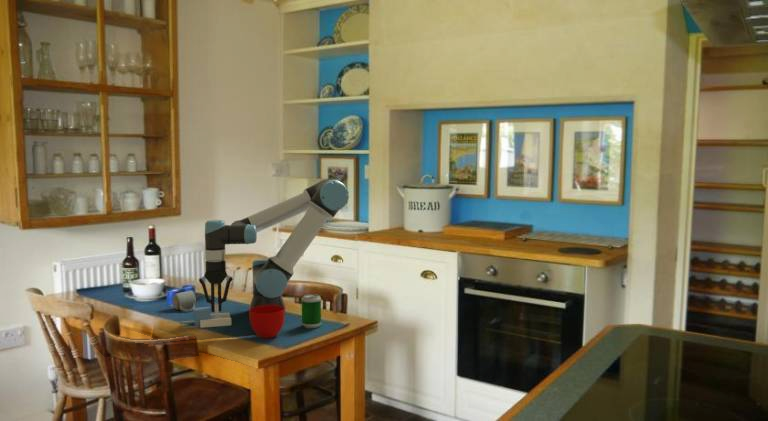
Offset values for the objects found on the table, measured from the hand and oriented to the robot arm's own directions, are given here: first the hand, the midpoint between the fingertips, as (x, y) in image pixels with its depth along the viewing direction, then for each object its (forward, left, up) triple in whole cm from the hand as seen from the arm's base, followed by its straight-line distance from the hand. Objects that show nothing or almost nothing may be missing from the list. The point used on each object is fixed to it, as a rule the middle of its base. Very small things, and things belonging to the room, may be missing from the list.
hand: (216, 319), depth 247 cm
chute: (+4, 0, -2) cm, 5 cm away
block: (+5, 0, -1) cm, 5 cm away
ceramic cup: (-16, +18, -3) cm, 24 cm away
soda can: (-35, +12, -3) cm, 37 cm away
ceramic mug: (+11, -30, -3) cm, 33 cm away
